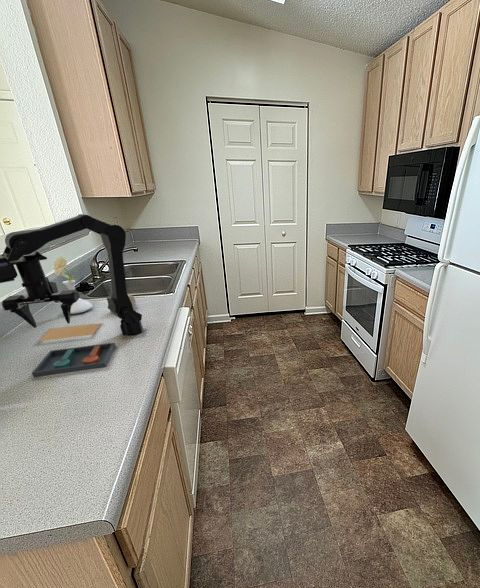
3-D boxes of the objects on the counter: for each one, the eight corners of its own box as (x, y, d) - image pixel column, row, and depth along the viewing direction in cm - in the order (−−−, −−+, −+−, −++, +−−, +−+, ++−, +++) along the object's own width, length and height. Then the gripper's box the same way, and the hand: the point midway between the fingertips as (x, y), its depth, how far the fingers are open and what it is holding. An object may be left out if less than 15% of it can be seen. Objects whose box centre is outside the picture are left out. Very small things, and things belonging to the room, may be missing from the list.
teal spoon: (80, 353, 111) (78, 348, 110) (69, 369, 102) (67, 364, 101) (65, 355, 110) (63, 350, 109) (53, 372, 101) (50, 366, 100)
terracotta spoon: (106, 350, 113) (104, 344, 112) (98, 365, 103) (96, 360, 103) (92, 351, 112) (90, 346, 111) (82, 368, 102) (80, 362, 101)
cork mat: (100, 324, 135) (100, 323, 135) (91, 338, 123) (91, 337, 123) (50, 329, 131) (50, 329, 131) (36, 345, 119) (35, 344, 119)
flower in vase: (61, 311, 150) (41, 255, 138) (90, 305, 156) (72, 251, 145) (67, 319, 141) (46, 260, 130) (97, 312, 148) (79, 255, 136)
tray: (116, 348, 116) (114, 342, 115) (106, 369, 103) (104, 362, 102) (52, 356, 111) (50, 350, 110) (34, 379, 99) (31, 372, 98)
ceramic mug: (132, 313, 146) (128, 296, 142) (113, 314, 145) (108, 297, 141) (139, 305, 155) (136, 289, 152) (121, 306, 154) (117, 290, 151)
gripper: (76, 267, 107) (91, 312, 114) (8, 273, 102) (28, 320, 109) (66, 276, 98) (83, 324, 105) (-10, 283, 93) (13, 333, 100)
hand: (52, 325), depth 105 cm, fingers open, 9 cm apart
